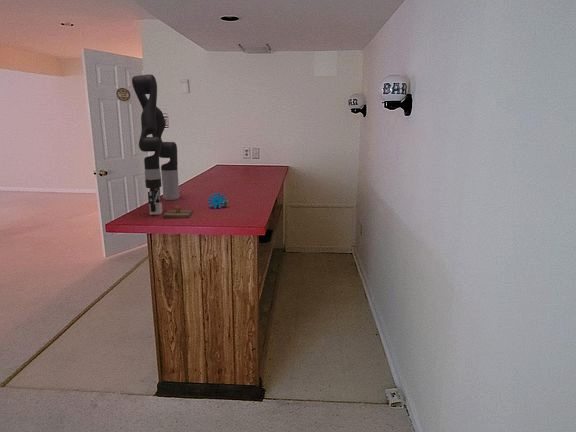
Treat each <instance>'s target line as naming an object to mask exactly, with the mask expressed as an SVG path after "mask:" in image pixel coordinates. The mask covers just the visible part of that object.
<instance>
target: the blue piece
mask: <svg viewBox="0 0 576 432" xmlns="http://www.w3.org/2000/svg"><path fill="white" fill-rule="evenodd" d="M228 203H229V200H228V199H227V197H226V196H225V195H224V194H223V193H222V194H221V193H220V192H217V193H216V192H214V193H213V194H210V195H209V198H207V205H209V207H210V208H211V209H212V208H213V209H215V210H217V207H218V209H221V208H222V207H227V205H228Z"/></svg>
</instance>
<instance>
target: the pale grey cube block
mask: <svg viewBox="0 0 576 432" xmlns="http://www.w3.org/2000/svg"><path fill="white" fill-rule="evenodd" d="M162 204H163V203H162V202H160V203H155V207H156V211H155V212H151V207H150V204H149V203H148V206H149V215H162V213H163V205H162Z"/></svg>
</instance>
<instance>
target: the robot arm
mask: <svg viewBox="0 0 576 432" xmlns="http://www.w3.org/2000/svg"><path fill="white" fill-rule="evenodd" d="M131 79H132V80H131V84H132V87H133V90H134V93H135V95H136V97H137V99H138V101H139V104H140V107H141V108H142V112H141V114H140V115H141V116H140V125H141V132H140V138H139V142H138V147H139V150H140V151H142V152H144V153H145V152H146V153H147V152H152V153H153V152H154V154H153V155H149V156H146V157H144V158H143V164H144V181H145V183H144V184H145V188H146V189H149V191H147V198H148V199H147V200H148V201H147V202H148V205H149V204H150V207H151V212H155V211H156V207H155V203H161V202H160V200H161V198H163V200H165V201H173V200H179V199H180V185H179V171H178V169H179V168H178V145H177V143H176V142H175V141H163V139H162V136H163V132H164V131H165V128H166V124H167V123H166V119H165V116H164V114H163V112H162V110H161V109H160V108H159V107H158V106H157V102H158V101H157V100H158V99H157V98H158V83H157V82H158V81H157V80H156V77H155V76H154V75H153V74H141V75H134V76H132V78H131ZM147 95H149V97H147ZM149 135H151V136H149ZM160 158H161V159H169V161H167V163H163V164H161V165H160ZM161 188H162V195H161ZM161 196H163V197H161Z"/></svg>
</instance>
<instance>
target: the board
mask: <svg viewBox="0 0 576 432" xmlns="http://www.w3.org/2000/svg"><path fill="white" fill-rule="evenodd" d="M192 214H193V209H191V208H190V209H187V208H185V209H181V206H180V205H175V209H168V210H166V212H165V213H164V214H163V215H162V217H163V218H162V219H189V218H190V216H192Z"/></svg>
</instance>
